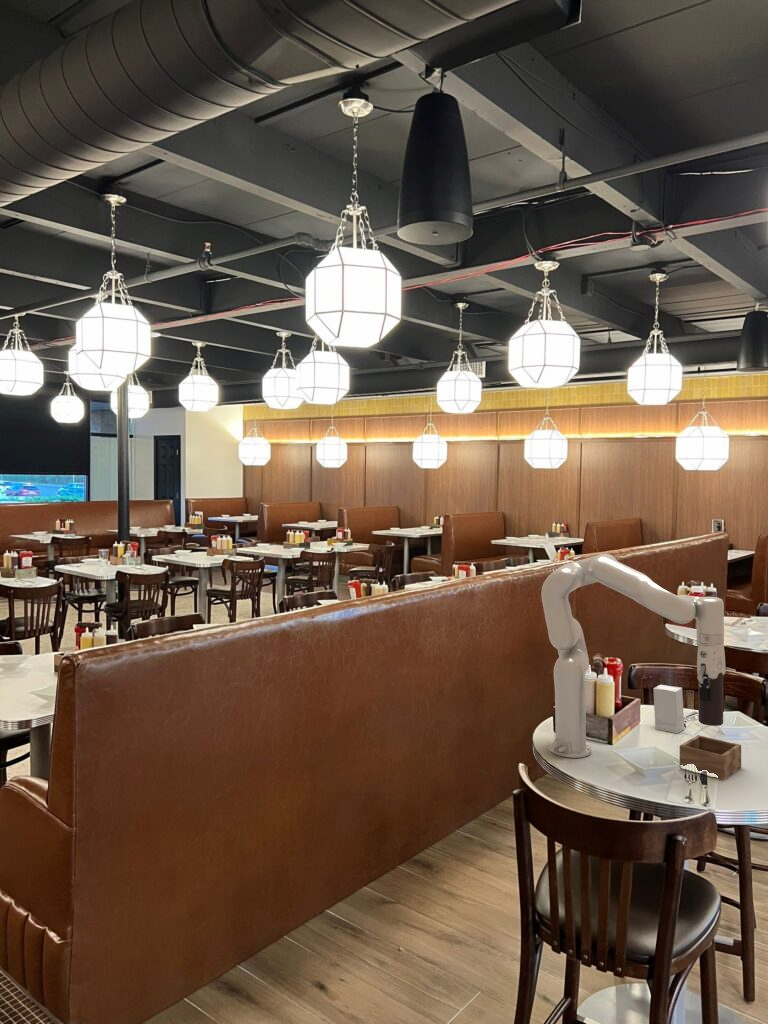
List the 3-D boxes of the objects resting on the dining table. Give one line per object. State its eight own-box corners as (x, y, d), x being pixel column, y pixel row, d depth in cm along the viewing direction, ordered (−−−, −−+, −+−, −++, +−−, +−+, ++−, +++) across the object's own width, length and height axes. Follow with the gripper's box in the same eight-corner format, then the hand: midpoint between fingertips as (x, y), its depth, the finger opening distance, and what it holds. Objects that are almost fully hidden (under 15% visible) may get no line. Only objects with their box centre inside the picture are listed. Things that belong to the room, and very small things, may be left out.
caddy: (723, 780, 215) (723, 756, 215) (679, 768, 225) (679, 745, 224) (741, 768, 224) (741, 744, 224) (698, 757, 234) (697, 735, 234)
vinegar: (713, 718, 228) (713, 653, 228) (728, 725, 222) (728, 658, 221) (693, 720, 227) (693, 654, 226) (708, 727, 220) (707, 659, 219)
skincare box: (684, 730, 260) (684, 687, 259) (676, 734, 255) (676, 691, 255) (661, 724, 266) (660, 683, 265) (653, 728, 262) (653, 686, 261)
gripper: (710, 645, 215) (711, 706, 215) (734, 635, 227) (734, 694, 227) (685, 641, 220) (685, 701, 221) (709, 632, 232) (709, 690, 233)
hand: (710, 697), depth 224 cm, fingers closed on vinegar, 6 cm apart
